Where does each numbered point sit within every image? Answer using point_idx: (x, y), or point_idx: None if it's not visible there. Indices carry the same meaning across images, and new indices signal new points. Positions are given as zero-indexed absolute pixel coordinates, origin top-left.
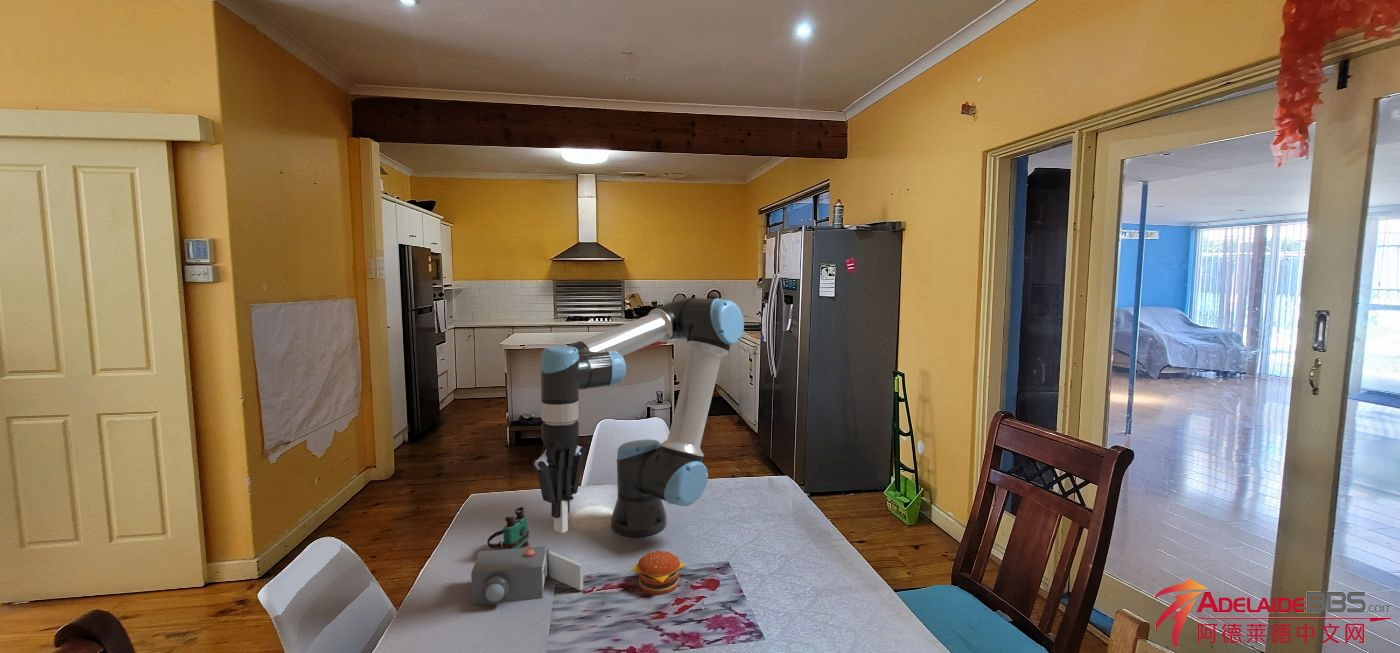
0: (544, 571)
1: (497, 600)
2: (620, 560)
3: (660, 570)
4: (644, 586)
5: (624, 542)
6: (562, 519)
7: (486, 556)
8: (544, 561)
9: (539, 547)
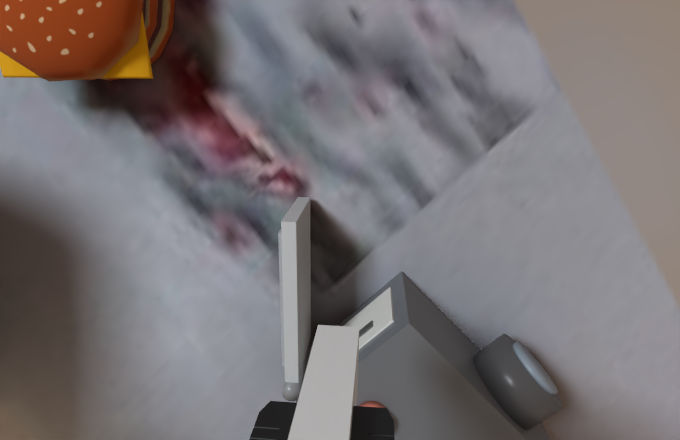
0: None
1: (523, 347)
2: (95, 219)
3: None
4: (165, 10)
5: (9, 285)
6: (354, 378)
7: None
8: None
9: None
